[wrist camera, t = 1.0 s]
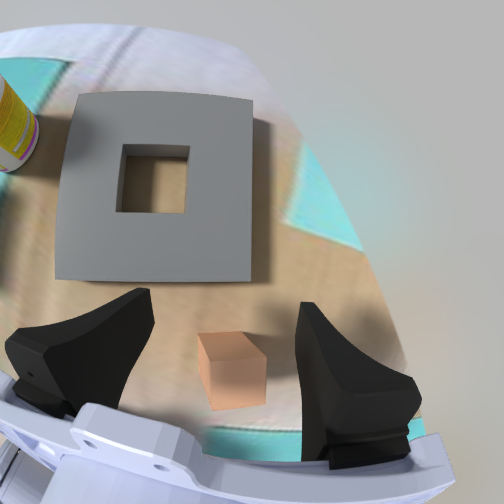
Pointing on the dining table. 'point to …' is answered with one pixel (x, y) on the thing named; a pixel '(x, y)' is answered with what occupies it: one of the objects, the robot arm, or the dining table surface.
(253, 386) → the peg
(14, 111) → the supplement bottle
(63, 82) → the dining table surface
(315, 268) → the dining table surface
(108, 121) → the socket block
